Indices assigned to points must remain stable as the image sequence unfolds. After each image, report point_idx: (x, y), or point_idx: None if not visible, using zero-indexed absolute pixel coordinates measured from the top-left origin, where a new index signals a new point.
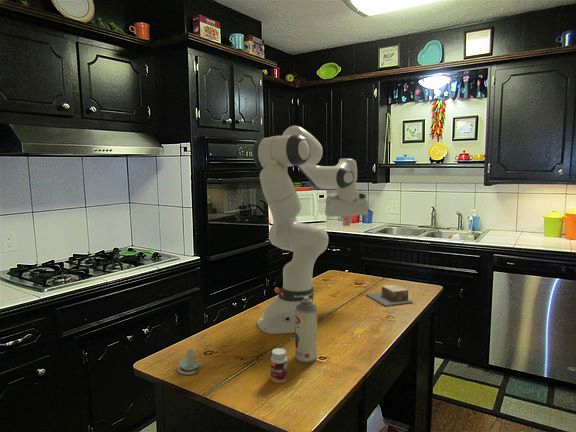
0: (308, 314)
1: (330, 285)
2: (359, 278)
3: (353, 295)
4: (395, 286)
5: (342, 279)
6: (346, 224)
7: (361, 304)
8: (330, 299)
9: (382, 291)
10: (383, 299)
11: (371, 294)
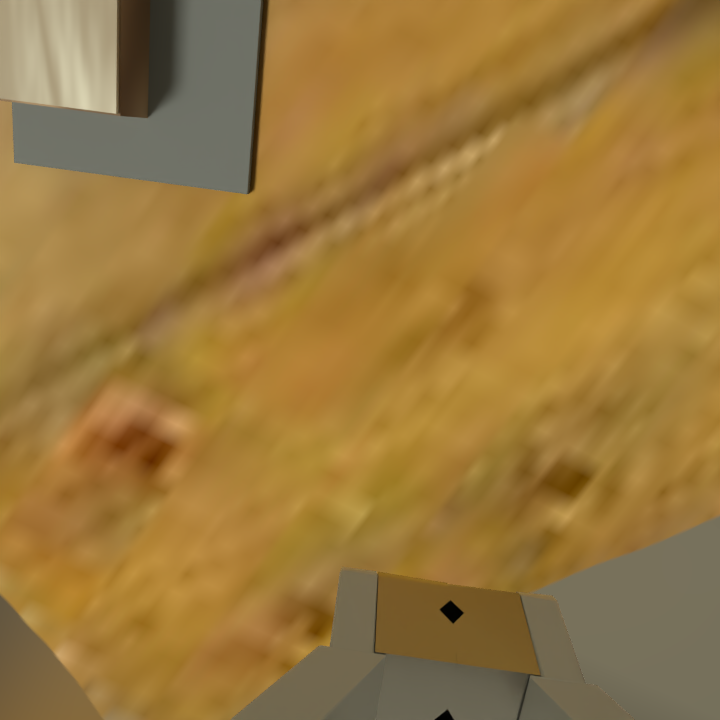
0: None
1: (351, 504)
2: (67, 540)
3: (335, 241)
4: (9, 45)
5: (194, 574)
6: (482, 601)
7: (408, 29)
8: (545, 245)
9: (135, 104)
10: (196, 17)
11: (212, 168)
